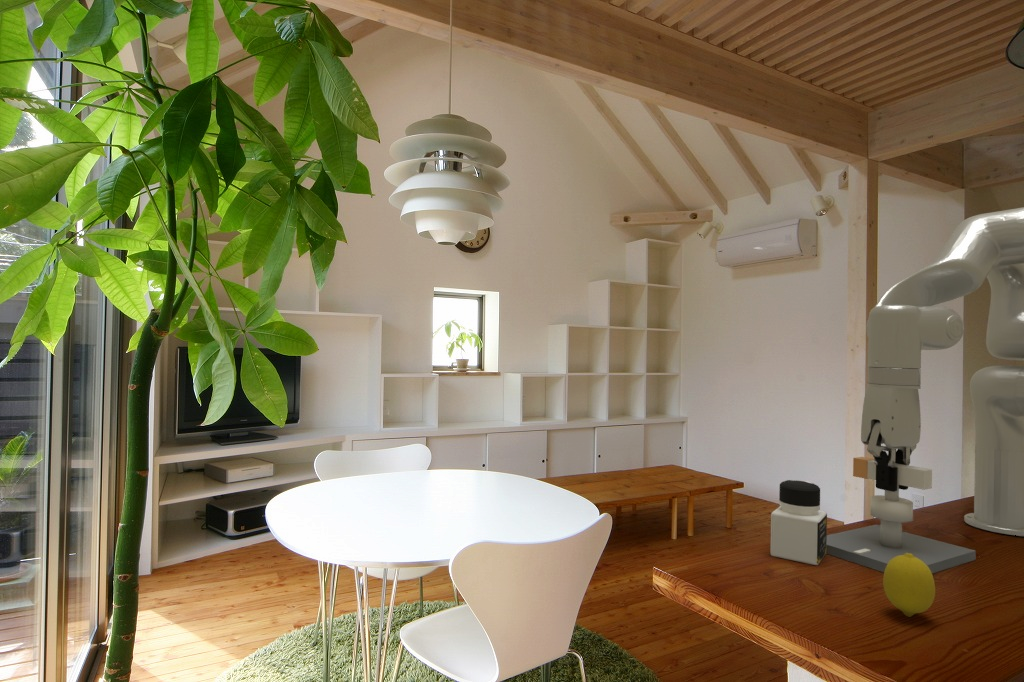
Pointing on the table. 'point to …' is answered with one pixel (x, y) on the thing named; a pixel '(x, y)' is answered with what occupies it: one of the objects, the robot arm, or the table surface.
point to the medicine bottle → (799, 523)
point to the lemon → (909, 584)
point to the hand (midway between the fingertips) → (891, 487)
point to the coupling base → (894, 547)
